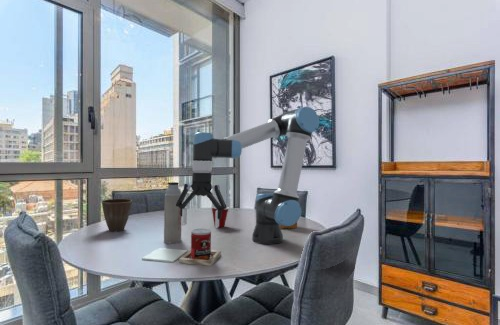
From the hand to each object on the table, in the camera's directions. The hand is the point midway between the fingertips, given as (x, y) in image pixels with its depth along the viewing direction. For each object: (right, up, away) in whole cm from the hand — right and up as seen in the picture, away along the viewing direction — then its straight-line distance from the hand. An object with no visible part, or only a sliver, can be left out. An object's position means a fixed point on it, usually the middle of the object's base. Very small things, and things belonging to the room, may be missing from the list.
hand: (200, 226), depth 110 cm
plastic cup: (+2, -13, +55) cm, 56 cm away
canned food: (0, -13, 0) cm, 13 cm away
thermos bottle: (-18, -13, +24) cm, 32 cm away
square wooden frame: (0, -13, 0) cm, 13 cm away
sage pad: (-15, -13, +3) cm, 19 cm away
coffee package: (+41, -14, +56) cm, 71 cm away
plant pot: (-53, -12, +43) cm, 70 cm away
